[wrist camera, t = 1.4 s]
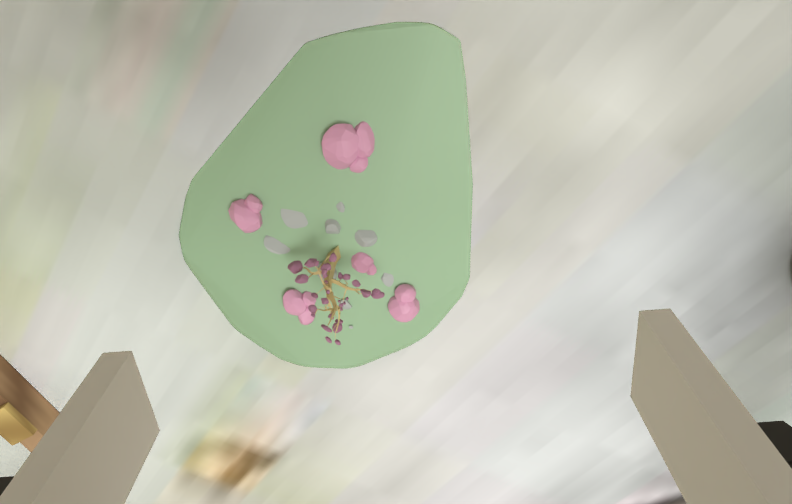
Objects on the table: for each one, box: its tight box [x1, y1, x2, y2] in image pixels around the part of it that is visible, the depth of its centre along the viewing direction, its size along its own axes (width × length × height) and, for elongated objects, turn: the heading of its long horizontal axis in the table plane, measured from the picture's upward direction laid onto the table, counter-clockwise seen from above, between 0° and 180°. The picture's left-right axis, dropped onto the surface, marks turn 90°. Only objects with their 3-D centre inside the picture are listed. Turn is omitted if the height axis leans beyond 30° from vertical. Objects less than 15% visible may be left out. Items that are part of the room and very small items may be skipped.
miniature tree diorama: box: [179, 22, 473, 368], centre depth 37 cm, size 25×21×9 cm
